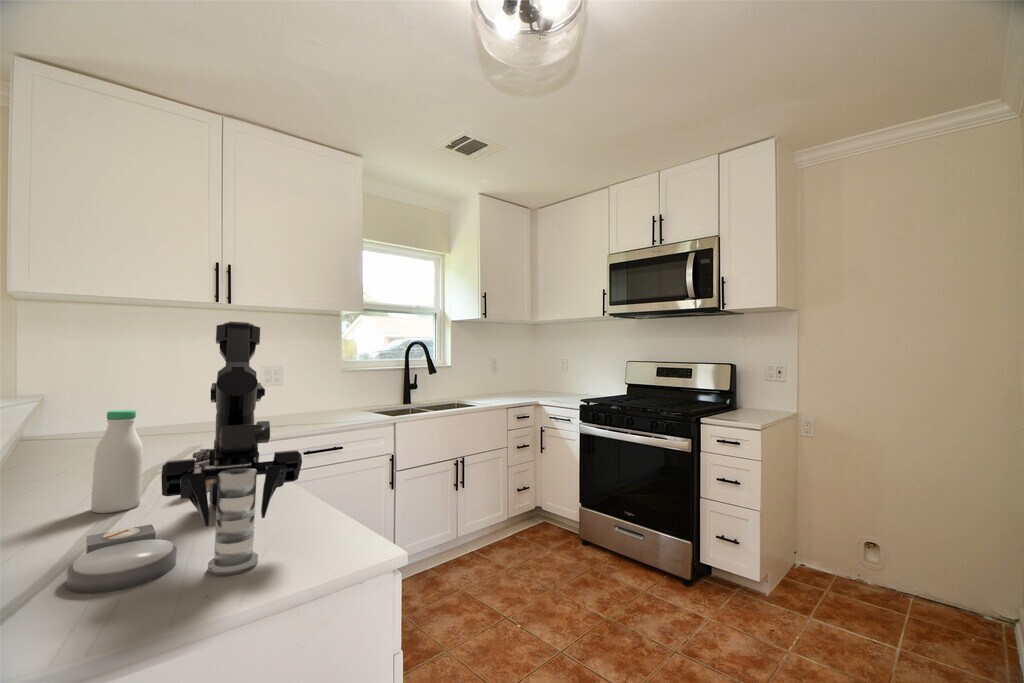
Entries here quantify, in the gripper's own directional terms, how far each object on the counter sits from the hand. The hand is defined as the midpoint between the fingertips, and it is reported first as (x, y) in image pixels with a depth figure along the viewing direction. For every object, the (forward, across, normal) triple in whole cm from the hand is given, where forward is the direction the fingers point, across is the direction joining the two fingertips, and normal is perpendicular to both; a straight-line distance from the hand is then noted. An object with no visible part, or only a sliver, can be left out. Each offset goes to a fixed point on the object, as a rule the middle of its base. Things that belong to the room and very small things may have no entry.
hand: (236, 520), depth 68 cm
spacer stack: (+4, 0, +6) cm, 7 cm away
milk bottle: (-26, -19, +37) cm, 49 cm away
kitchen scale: (-2, -14, +12) cm, 18 cm away
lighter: (-30, -4, +40) cm, 50 cm away
